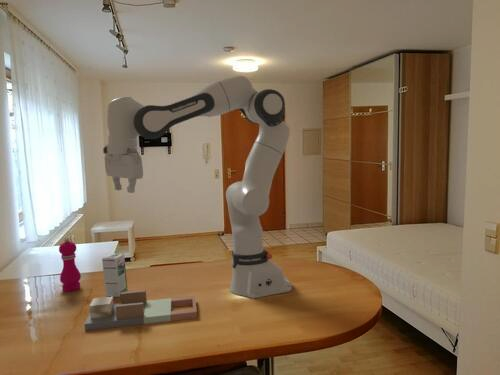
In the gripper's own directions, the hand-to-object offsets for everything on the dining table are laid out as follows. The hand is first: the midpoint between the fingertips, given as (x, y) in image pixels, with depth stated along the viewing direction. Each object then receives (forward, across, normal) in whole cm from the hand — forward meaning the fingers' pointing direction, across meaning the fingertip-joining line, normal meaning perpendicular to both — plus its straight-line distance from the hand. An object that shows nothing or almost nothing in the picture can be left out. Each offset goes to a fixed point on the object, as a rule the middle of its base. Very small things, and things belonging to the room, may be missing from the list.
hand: (124, 191), depth 130 cm
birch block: (+37, -3, +10) cm, 39 cm away
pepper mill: (+40, +32, +8) cm, 52 cm away
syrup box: (+39, +14, -2) cm, 42 cm away
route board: (+39, -10, -1) cm, 40 cm away
